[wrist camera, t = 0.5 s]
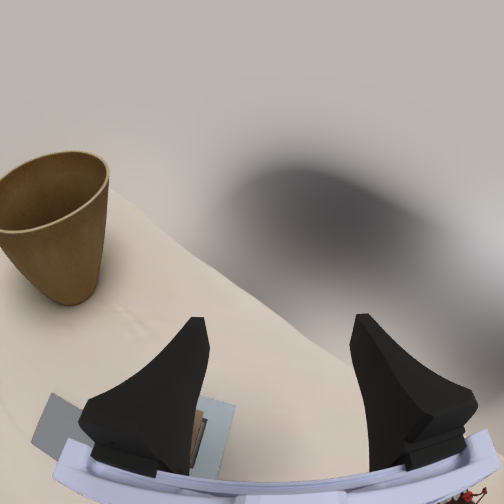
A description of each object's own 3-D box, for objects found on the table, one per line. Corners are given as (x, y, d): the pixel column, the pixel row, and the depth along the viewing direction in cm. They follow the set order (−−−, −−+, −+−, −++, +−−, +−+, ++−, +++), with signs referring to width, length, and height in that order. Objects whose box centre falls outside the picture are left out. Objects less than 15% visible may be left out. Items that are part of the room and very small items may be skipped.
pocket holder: (210, 493, 19) (211, 495, 17) (112, 459, 19) (107, 458, 17) (233, 409, 26) (235, 405, 25) (143, 379, 26) (140, 374, 25)
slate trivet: (85, 477, 16) (84, 477, 16) (32, 442, 16) (30, 442, 16) (105, 423, 21) (104, 422, 21) (53, 393, 21) (51, 392, 21)
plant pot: (31, 342, 24) (-33, 248, 13) (30, 257, 33) (-1, 166, 22) (136, 316, 31) (117, 208, 20) (114, 237, 40) (104, 140, 29)
